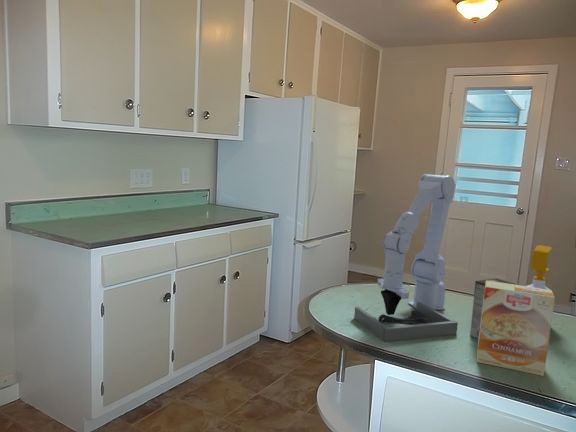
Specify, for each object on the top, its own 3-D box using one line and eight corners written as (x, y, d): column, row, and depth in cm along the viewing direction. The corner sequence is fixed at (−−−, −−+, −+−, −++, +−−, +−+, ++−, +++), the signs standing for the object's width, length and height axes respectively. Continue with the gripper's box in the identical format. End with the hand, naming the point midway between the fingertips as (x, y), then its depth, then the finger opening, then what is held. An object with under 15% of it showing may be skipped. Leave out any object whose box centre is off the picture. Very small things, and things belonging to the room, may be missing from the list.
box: (419, 312, 147) (420, 302, 147) (456, 334, 131) (457, 322, 130) (354, 318, 139) (355, 307, 139) (385, 341, 123) (386, 329, 122)
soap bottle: (553, 324, 142) (564, 247, 139) (545, 332, 136) (556, 251, 132) (522, 316, 148) (531, 242, 145) (513, 323, 142) (523, 245, 138)
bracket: (371, 315, 144) (372, 306, 144) (416, 315, 146) (417, 306, 146) (387, 333, 130) (387, 324, 130) (436, 333, 132) (437, 324, 132)
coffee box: (490, 330, 135) (497, 277, 132) (510, 338, 129) (516, 283, 127) (468, 334, 130) (475, 280, 128) (487, 343, 125) (494, 286, 123)
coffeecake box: (476, 362, 113) (484, 286, 110) (476, 351, 119) (485, 279, 117) (544, 377, 107) (555, 296, 104) (541, 364, 113) (552, 289, 111)
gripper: (370, 265, 145) (367, 307, 147) (395, 278, 132) (391, 323, 134) (389, 265, 148) (386, 305, 149) (416, 277, 134) (412, 321, 136)
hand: (390, 314), depth 142 cm, fingers closed
